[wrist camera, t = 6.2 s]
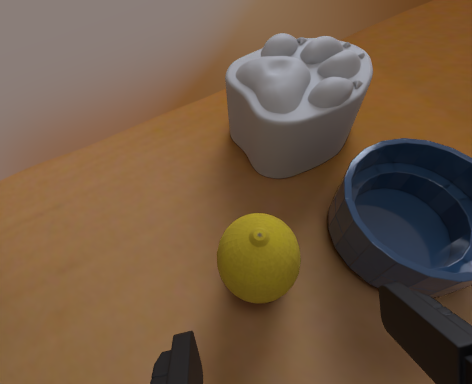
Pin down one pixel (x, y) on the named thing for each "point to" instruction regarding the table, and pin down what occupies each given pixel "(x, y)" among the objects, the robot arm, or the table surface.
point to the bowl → (406, 216)
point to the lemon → (258, 258)
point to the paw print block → (295, 101)
